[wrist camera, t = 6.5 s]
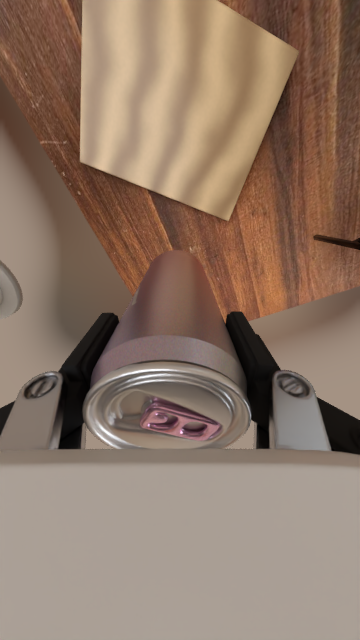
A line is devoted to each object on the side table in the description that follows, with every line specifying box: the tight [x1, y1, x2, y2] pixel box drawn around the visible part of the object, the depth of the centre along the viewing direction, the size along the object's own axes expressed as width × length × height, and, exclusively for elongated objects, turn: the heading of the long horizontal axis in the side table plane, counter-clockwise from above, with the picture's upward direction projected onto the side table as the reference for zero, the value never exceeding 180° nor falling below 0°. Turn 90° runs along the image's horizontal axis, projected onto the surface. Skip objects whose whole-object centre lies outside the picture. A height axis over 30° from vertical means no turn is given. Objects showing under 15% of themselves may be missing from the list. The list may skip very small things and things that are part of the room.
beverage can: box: [82, 250, 251, 449], centre depth 12 cm, size 6×6×15 cm
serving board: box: [80, 0, 299, 221], centre depth 23 cm, size 24×18×2 cm
